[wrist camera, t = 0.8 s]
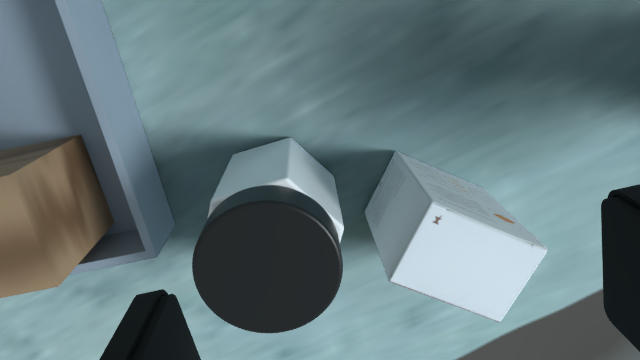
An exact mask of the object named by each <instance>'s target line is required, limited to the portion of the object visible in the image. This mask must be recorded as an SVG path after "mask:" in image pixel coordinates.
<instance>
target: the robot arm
mask: <svg viewBox="0 0 640 360" xmlns="http://www.w3.org/2000/svg"><path fill="white" fill-rule="evenodd" d="M601 219H602V257H603V294H604V309H605V312H606V314H607V317H608V318H609V320H610V321H611V322H612V324H613V325H614V326H615V327H616V328H617V329H618V330H619V331H620V332H621V333H622V334H623V335H624V336H625V337H626V338H627V339H628V340H629V341H630V342H631V343H632V344H633V345H634V346H635V347H636V348H637V349H638V350H639V351H640V185H635V186H630V187H626V188H621V189H617V190H612V191H611V192H610V193H609V195H608V198H607V199H604V200H603V201H602V204H601ZM100 360H201V359H200V356H199V354H198V351H197V349H196V346H195V343H194V341H193V338H192V336H191V333H190V331H189V328H188V325H187V323H186V320H185V318H184V315H183V313H182V310H181V307H180V305H179V302H178V300H177V298H176V296H175V295H174V294H170V295H168V293H167V292H166V291H165V290H163V289H162V290H157V291H153V292H148V293H144V294H139V295H136V297H135V298H134V299H133V301H132V303H131V305H130V307H129V308H128V310H127V312H126V314H125V315H124V317H123V319H122V321H121V322H120V324H119V326H118V328H117V330H116V331H115V333H114V335H113V337H112V338H111V340H110V342H109V344H108V346H107V347H106V349H105V351H104V353H103V354H102V356H101V358H100Z"/></svg>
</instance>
